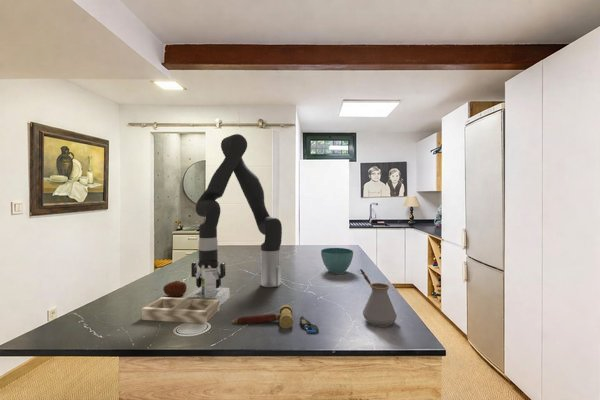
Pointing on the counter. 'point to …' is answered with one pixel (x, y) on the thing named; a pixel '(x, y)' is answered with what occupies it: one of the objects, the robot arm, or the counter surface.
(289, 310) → the gavel
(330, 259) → the teal bowl
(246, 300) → the counter surface
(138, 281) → the counter surface
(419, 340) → the counter surface
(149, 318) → the rack
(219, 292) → the socket block
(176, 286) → the potato
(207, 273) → the syrup box
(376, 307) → the coffee pot
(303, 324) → the micrometer
